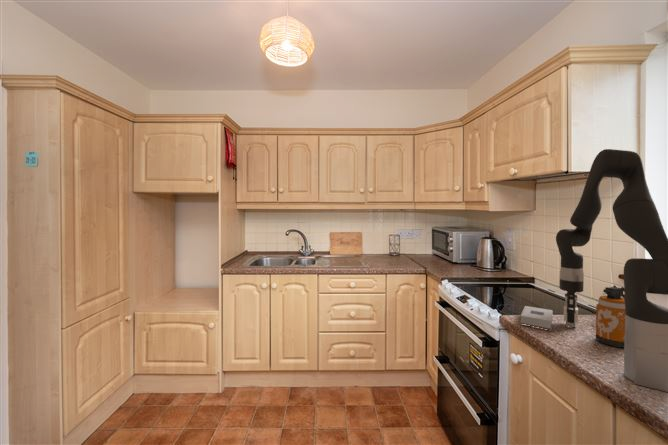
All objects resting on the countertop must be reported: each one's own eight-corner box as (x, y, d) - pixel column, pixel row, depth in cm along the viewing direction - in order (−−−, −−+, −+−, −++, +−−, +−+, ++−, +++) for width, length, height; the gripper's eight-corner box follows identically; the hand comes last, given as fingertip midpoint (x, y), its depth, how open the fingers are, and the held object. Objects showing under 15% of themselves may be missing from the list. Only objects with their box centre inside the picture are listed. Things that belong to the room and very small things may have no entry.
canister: (589, 340, 106) (590, 284, 106) (608, 335, 110) (609, 282, 110) (621, 350, 98) (622, 290, 97) (640, 345, 102) (641, 287, 101)
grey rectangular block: (550, 331, 114) (551, 320, 114) (520, 325, 121) (520, 315, 120) (552, 319, 127) (552, 310, 127) (524, 314, 133) (525, 305, 133)
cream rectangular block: (577, 329, 116) (578, 310, 116) (563, 326, 119) (563, 308, 119) (577, 325, 120) (577, 307, 119) (563, 323, 122) (563, 305, 122)
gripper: (584, 283, 111) (583, 328, 111) (582, 276, 122) (581, 317, 123) (559, 280, 115) (558, 323, 116) (559, 274, 127) (559, 314, 127)
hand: (570, 320), depth 119 cm, fingers closed on cream rectangular block, 4 cm apart
